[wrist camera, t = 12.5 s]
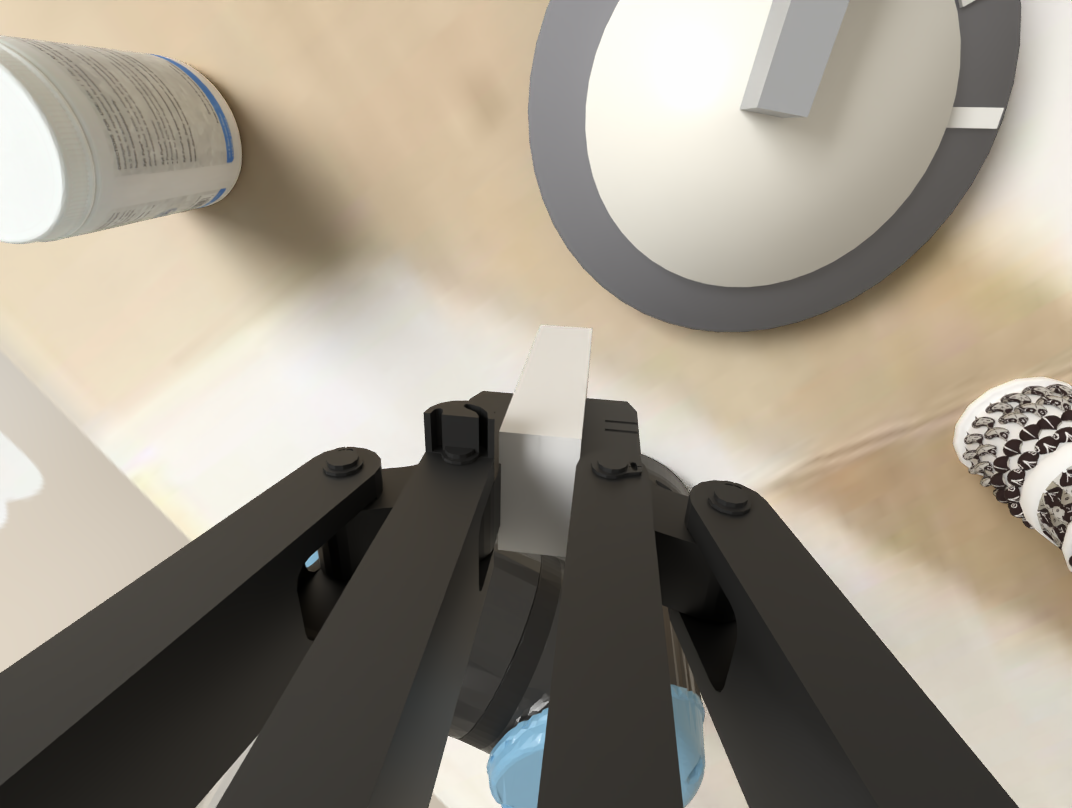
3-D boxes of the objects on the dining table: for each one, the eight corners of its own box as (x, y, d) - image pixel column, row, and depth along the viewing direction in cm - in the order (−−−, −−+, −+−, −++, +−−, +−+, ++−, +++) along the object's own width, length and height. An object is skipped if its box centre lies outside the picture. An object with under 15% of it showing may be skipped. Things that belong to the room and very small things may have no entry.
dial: (850, 308, 36) (900, 348, 29) (558, 248, 36) (545, 274, 30) (1090, -216, 24) (1253, -334, 18) (660, -288, 25) (674, -425, 19)
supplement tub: (127, 29, 37) (-143, -23, 24) (261, 99, 38) (71, 86, 25) (114, 171, 41) (-119, 193, 28) (235, 231, 42) (62, 279, 29)
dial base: (902, 329, 39) (925, 345, 36) (532, 307, 42) (525, 321, 39) (1071, -183, 27) (1126, -221, 24) (538, -163, 30) (530, -194, 27)
